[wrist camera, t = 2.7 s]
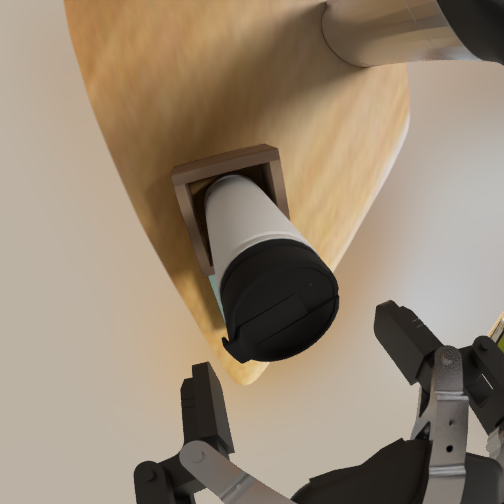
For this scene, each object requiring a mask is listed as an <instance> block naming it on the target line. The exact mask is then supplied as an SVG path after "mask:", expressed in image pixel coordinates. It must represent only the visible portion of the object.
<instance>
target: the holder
mask: <svg viewBox="0 0 504 504" xmlns="http://www.w3.org/2000/svg"><path fill="white" fill-rule="evenodd" d="M258 164H259V166H260V171H261V176H262V181H263V186H264V191H265V194H266V195H267V196H268V198H269V199H270V200H271V201H272V202H273V203H274V204H275V205H276V206H277V207H278V209H279V210H280V211H281V212H282V213H283V214H284V215H285V216H286V217H287V219H288V220H289V221H290V216H289V210H288V203H287V197H286V191H285V185H284V179H283V173H282V168H281V162H280V156H279V151H278V149H277V148H274V147H272V146H269V145H267V144H260V145H256V146H251V147H247V148H242V149H238V150H234V151H230V152H226V153H222V154H218V155H214V156H211V157H207V158H203V159H200V160H196V161H193V162H189V163H186V164H182V165H179V166H176V167H174V169H173V171H172V174H171V180H172V183H173V187H174V190H175V193H176V196H177V200H178V203H179V206H180V209H181V212H182V215H183V218H184V221H185V225H186V228H187V231H188V234H189V237H190V240H191V242H192V245H193V248H194V251H195V254H196V257H197V260H198V263H199V266H200V268H201V271H202V274H203V277H207V276H211V275H215V270H214V265H213V259H212V253H211V247H210V244H209V245H207V243H206V240H205V236H204V233H203V230H202V227H201V223H200V220H199V217H198V214H197V210H196V207H195V203H194V200H193V197H192V193H191V190H190V186H189V183H190V182H193V181H196V180H200V179H204V178H207V177H211V176H214V175H218V174H222V173H226V172H229V171H233V170H237V169H241V168H245V167H250V166H254V165H258Z"/></svg>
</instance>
